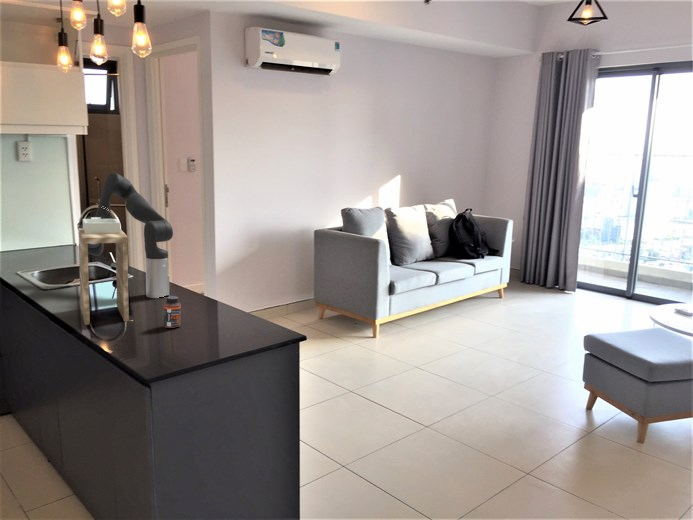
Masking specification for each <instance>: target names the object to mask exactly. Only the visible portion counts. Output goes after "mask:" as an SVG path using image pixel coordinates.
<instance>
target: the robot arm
mask: <svg viewBox="0 0 693 520" xmlns="http://www.w3.org/2000/svg"><path fill="white" fill-rule="evenodd" d="M113 195H115V196H117V197H119V198H120V199H121V200H123V201H124V202H125V208H126V210H127V212H128V213H129V215H131V217H132V218H133V219H135V220H136V221H139V222H140V223H144V227H143V238H144V252H145V295H146V297H147V298H149V299H160V298H159V297H164V296H166V295H169V296H170V275H169V251H168V250H166V249H162V248H160V247H158V243H162V242H163V243H164V242H169V241H170V240H171V239H172V238H173V236H174V231H173V227H172V225H171V223H170V222H169V221H168V220H167V219H166V218H164V217H163V216H162V215H160V214H159V213H158V212H157V211H156V210H155V209H154V208H153V207H152V206H151V204H150V203H149V202H148V201H147V199H145V198H144V197H143V195H141V193H139V192H138V190H136V189H135V186H133V184H132V182H131V181H130V180H129V179H128V178H126V177H124V176H122V175H121V174H119V173H117V172H111V173H109V174H108V175H107V176H106V177H105V181H104V182H103V186H102V189H101V193H100V197H99V198H100V199H99V202H98V207H97V211H96V213H95V215H94V217H100V218H101V219H112V208H111V199H112V196H113ZM102 206H104V207H102ZM101 207H102V208H101ZM105 207H106V208H105ZM103 208H105V209H103ZM107 208H108V209H109V211H110V210H111V211H110V212H111V213H110V212H109V211H107V210H108V209H107ZM102 209H103V210H102ZM106 209H107V210H106ZM106 211H107V212H106ZM108 212H109V213H108ZM110 214H111V215H110ZM91 217H92V215H88V216H87V218H86V219H91ZM76 227H77V229H78V228H83V219H81V220H80V221H79V222H78V223H77V224H76ZM104 245H105V243H88V255H92V256H95V257H99V256H101V255H102V254H103V252H104ZM164 298H165V297H164Z"/></svg>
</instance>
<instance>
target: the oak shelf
mask: <svg viewBox="0 0 693 520" xmlns="http://www.w3.org/2000/svg"><path fill="white" fill-rule="evenodd" d="M77 230H78V233H77V234H78V255H79V257H78V261H79V262H78V263H79V290H80V291H79V293H80V294H79V295H80V311H81V315H82V318H83V323H84V325H90V324H91V323H90V322H91V321H90V319H91V318H90V315H91V314H90V287H89V285H90V281H89V253H88V243H104V244H112V243H114V244H115V269H116V270H115V271H116V273H115V274H116V275H115V276H116V308H117V309H118V312H119V314H120V316H121V317H122V319H123V322H129V320H130V317H129V315H130V314H129V313H130V312H129V309H130V307H129V306H130V305H129V252H128V251H129V247H128V245H129V237H128V235H127V234H126V233H125V232H124V231H123V230H122V229H121V228H120V234H85V232H84V230H83V228H77Z"/></svg>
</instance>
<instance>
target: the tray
mask: <svg viewBox="0 0 693 520" xmlns="http://www.w3.org/2000/svg"><path fill="white" fill-rule="evenodd" d="M82 220H83V230H84V232H85V234H120V229H121V222H120V221H119V220H118V219H117V218H111V219H101V218H100V217H95V216H93V217H92V216H91V219H87V218H82Z"/></svg>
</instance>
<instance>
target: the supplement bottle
mask: <svg viewBox="0 0 693 520" xmlns="http://www.w3.org/2000/svg"><path fill="white" fill-rule="evenodd" d="M181 305H182V304H181V302H179V297H178V296H175V295H169V297H166V302H164V304H163V327H164V328H165V329H167V328H175V327H178V326H180V327H181V319H182V318H181V315H182V314H181V312H182V306H181Z"/></svg>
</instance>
